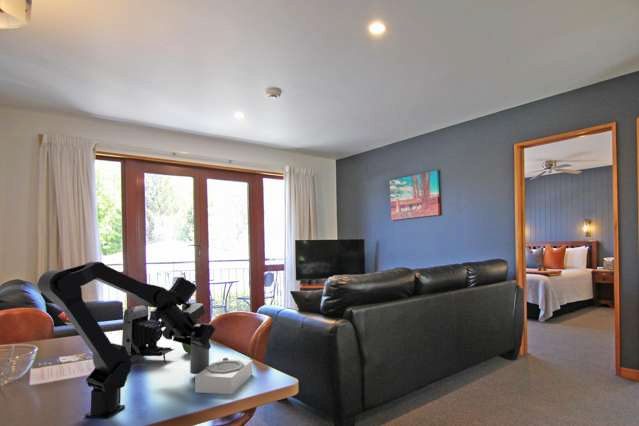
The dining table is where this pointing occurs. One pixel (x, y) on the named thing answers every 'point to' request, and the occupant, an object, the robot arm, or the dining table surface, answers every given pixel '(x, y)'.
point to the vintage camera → (141, 334)
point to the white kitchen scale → (223, 376)
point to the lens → (198, 357)
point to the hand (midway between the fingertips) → (203, 346)
